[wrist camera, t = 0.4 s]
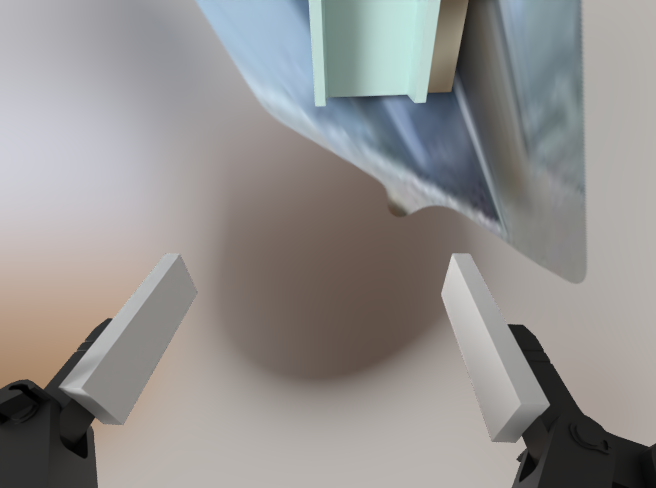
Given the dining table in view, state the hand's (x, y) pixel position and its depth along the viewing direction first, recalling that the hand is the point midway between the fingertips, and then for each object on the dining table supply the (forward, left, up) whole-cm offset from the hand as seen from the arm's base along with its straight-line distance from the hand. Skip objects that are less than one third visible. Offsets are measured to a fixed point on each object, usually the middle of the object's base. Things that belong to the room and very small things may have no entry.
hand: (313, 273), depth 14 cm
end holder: (-9, +4, -25) cm, 27 cm away
